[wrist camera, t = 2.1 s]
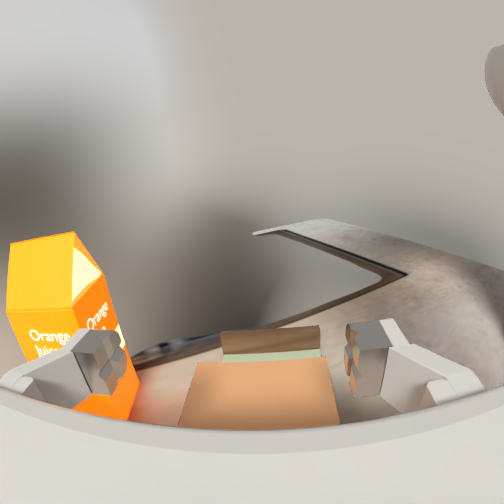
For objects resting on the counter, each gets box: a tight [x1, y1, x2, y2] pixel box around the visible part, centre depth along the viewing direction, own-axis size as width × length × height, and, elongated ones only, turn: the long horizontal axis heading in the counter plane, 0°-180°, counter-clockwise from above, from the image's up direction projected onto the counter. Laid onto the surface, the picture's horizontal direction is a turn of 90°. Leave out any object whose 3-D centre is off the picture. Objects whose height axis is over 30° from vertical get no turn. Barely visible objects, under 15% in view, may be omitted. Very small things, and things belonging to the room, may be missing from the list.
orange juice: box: [6, 232, 140, 420], centre depth 27 cm, size 8×9×20 cm
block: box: [178, 356, 340, 430], centre depth 19 cm, size 6×9×10 cm, turn 87°
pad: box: [222, 349, 321, 363], centre depth 34 cm, size 7×12×1 cm, turn 87°
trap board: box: [220, 325, 320, 355], centre depth 28 cm, size 22×12×4 cm, turn 177°
